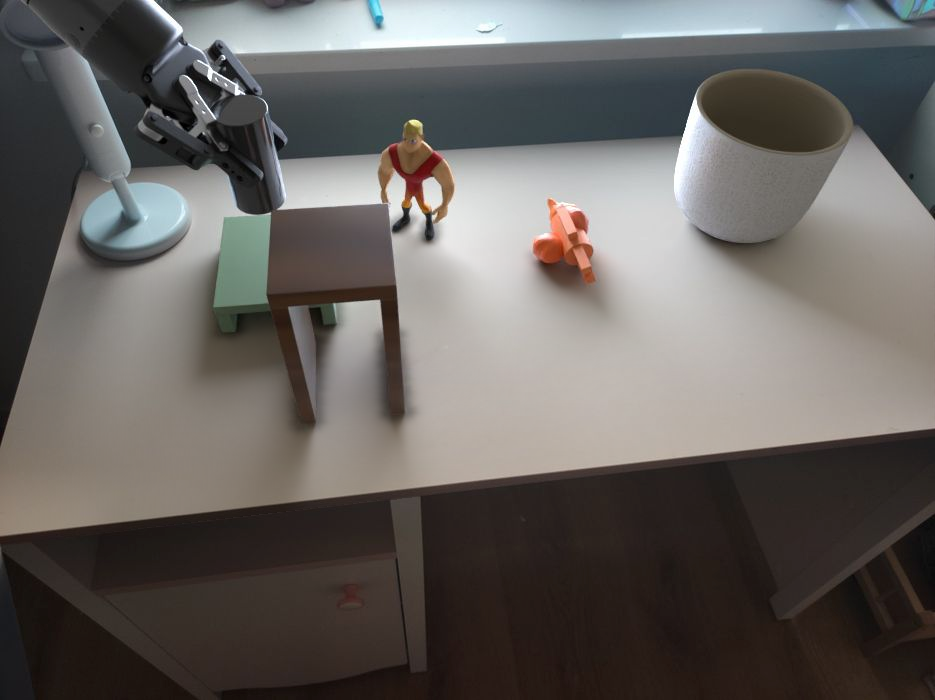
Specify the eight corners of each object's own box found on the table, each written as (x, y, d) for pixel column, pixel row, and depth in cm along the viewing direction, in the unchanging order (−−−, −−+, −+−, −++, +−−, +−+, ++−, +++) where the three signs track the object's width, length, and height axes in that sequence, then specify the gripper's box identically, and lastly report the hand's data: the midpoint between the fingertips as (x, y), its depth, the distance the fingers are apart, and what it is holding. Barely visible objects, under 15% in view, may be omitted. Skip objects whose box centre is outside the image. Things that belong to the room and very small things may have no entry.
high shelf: (405, 413, 69) (396, 285, 55) (301, 423, 68) (265, 294, 54) (397, 335, 75) (388, 202, 61) (302, 343, 74) (270, 209, 60)
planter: (823, 252, 86) (885, 146, 74) (694, 270, 83) (737, 162, 71) (758, 168, 96) (804, 62, 84) (641, 181, 93) (671, 74, 81)
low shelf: (336, 324, 76) (332, 298, 73) (222, 333, 75) (212, 307, 71) (334, 236, 85) (330, 210, 81) (231, 243, 83) (223, 217, 80)
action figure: (373, 227, 86) (363, 119, 74) (385, 210, 88) (377, 101, 76) (446, 247, 84) (447, 139, 72) (456, 229, 86) (459, 120, 74)
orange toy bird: (608, 251, 76) (574, 183, 83) (543, 276, 77) (515, 205, 84) (614, 281, 80) (581, 212, 87) (552, 303, 81) (524, 234, 88)
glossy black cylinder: (261, 221, 68) (239, 132, 60) (224, 202, 70) (197, 112, 62) (296, 195, 71) (279, 106, 63) (259, 176, 72) (238, 88, 65)
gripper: (75, 34, 52) (260, 193, 60) (170, -45, 61) (320, 103, 69) (41, 89, 57) (217, 229, 65) (134, 8, 65) (278, 140, 73)
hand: (269, 163), depth 67 cm, fingers closed on glossy black cylinder, 5 cm apart
